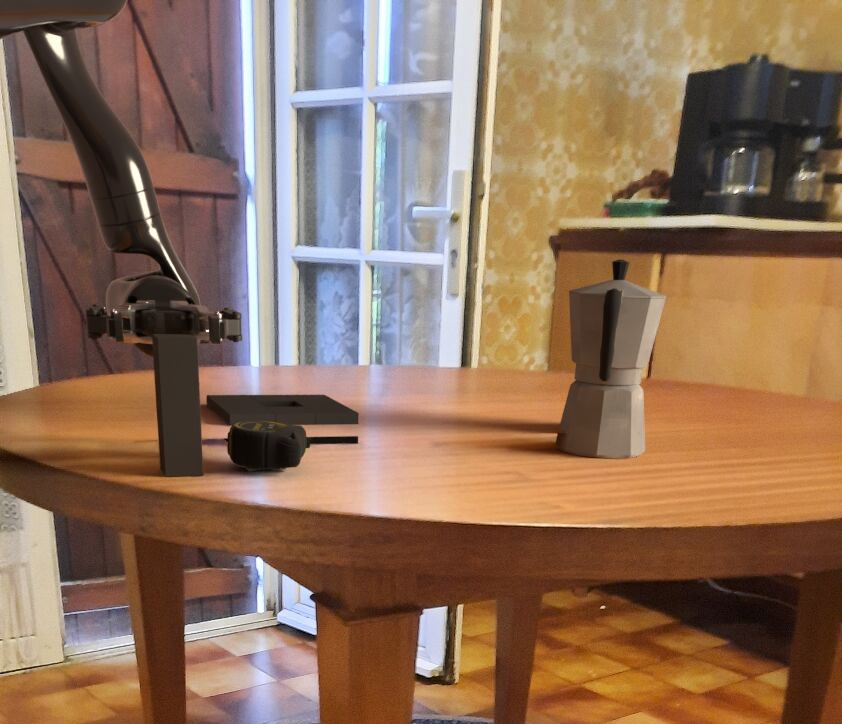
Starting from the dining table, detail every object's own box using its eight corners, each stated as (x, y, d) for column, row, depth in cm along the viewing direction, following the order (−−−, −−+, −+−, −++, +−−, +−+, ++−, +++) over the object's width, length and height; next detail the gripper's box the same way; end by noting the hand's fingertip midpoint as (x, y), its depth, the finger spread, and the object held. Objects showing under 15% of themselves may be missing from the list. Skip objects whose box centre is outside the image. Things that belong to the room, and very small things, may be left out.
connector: (165, 476, 90) (156, 337, 85) (160, 469, 93) (151, 333, 88) (203, 475, 91) (197, 338, 86) (197, 468, 94) (190, 334, 89)
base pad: (230, 445, 104) (229, 414, 103) (207, 424, 115) (206, 395, 114) (358, 443, 108) (358, 412, 107) (324, 422, 119) (324, 394, 118)
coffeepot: (560, 436, 117) (577, 256, 109) (647, 443, 116) (671, 261, 108) (544, 461, 104) (563, 257, 96) (643, 469, 102) (670, 262, 94)
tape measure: (300, 479, 91) (300, 434, 90) (220, 474, 92) (219, 429, 90) (310, 464, 98) (310, 421, 96) (236, 460, 98) (235, 417, 96)
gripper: (84, 273, 107) (81, 282, 93) (228, 278, 110) (246, 287, 96) (91, 353, 110) (89, 373, 96) (230, 355, 113) (249, 375, 99)
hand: (168, 330), depth 96 cm, fingers open, 8 cm apart
